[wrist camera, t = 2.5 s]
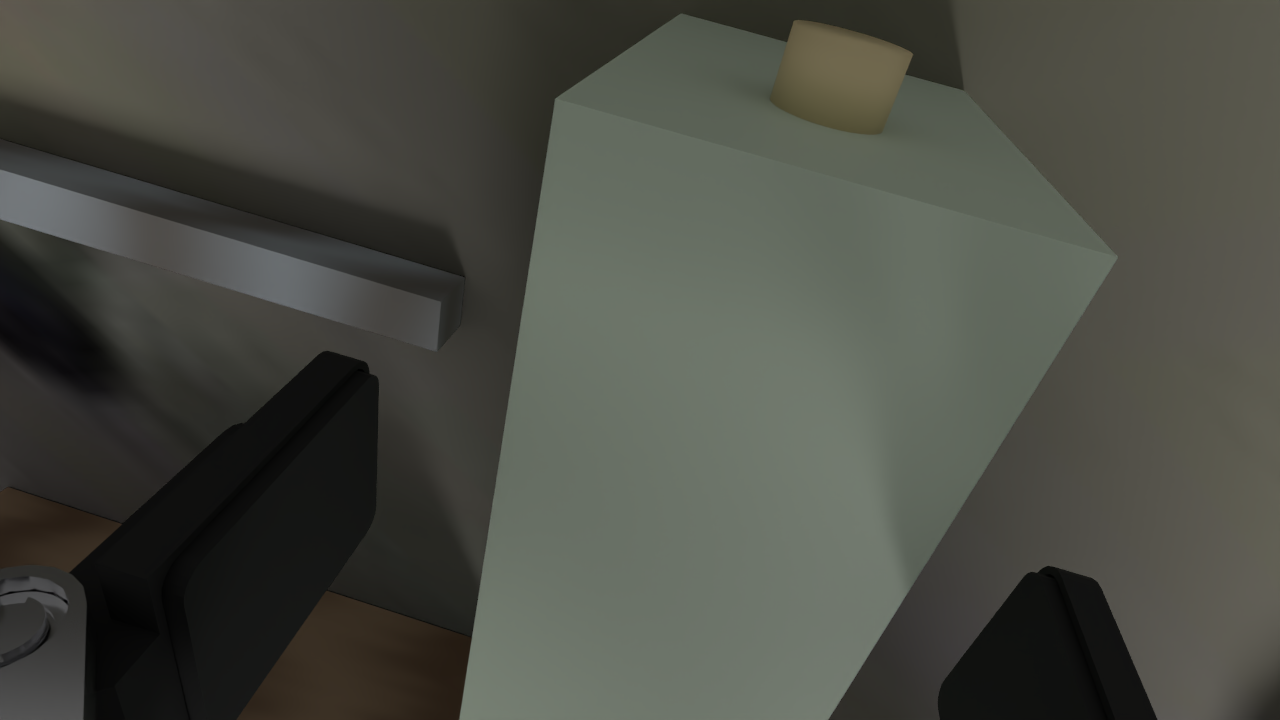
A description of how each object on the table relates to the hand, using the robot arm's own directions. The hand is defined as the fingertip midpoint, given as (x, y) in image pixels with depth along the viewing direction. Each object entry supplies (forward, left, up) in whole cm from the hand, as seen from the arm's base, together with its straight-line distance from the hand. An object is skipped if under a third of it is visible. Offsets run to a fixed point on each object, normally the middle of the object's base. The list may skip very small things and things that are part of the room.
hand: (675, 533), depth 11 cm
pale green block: (0, +1, -9) cm, 9 cm away
